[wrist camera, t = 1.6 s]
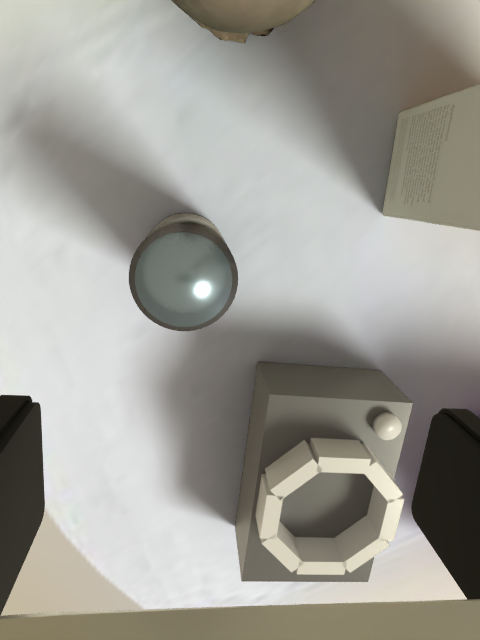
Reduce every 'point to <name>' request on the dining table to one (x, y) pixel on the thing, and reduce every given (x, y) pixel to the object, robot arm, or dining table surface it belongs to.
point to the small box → (437, 162)
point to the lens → (183, 273)
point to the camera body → (319, 473)
